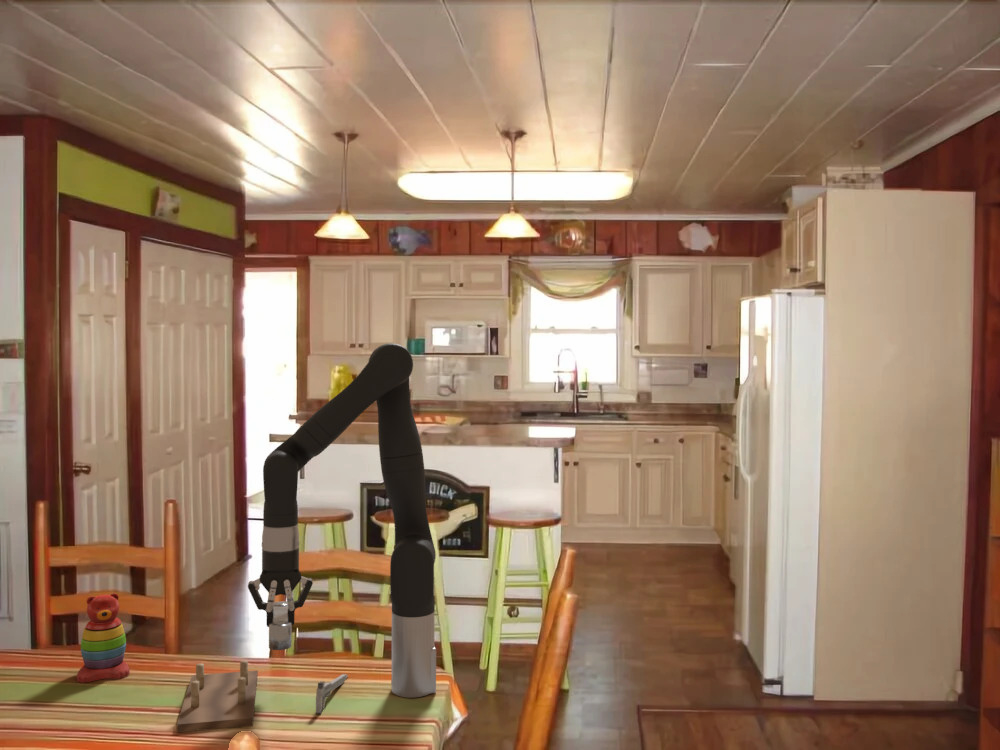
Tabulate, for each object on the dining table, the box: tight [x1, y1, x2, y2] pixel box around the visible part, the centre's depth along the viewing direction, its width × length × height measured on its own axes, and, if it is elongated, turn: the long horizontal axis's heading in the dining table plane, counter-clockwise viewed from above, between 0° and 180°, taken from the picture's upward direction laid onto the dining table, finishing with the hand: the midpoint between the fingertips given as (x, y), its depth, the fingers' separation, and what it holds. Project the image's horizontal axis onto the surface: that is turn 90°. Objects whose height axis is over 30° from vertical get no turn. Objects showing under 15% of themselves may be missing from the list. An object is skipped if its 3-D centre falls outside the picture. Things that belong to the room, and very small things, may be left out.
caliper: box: [315, 673, 349, 715], centre depth 187 cm, size 20×1×6 cm, turn 174°
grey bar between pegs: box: [268, 600, 293, 651], centre depth 184 cm, size 4×20×4 cm, turn 13°
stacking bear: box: [76, 593, 131, 684], centre depth 198 cm, size 11×10×18 cm
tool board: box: [176, 659, 259, 733], centre depth 182 cm, size 14×26×6 cm, turn 14°
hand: (280, 627), depth 184 cm, fingers closed on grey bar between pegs, 3 cm apart
